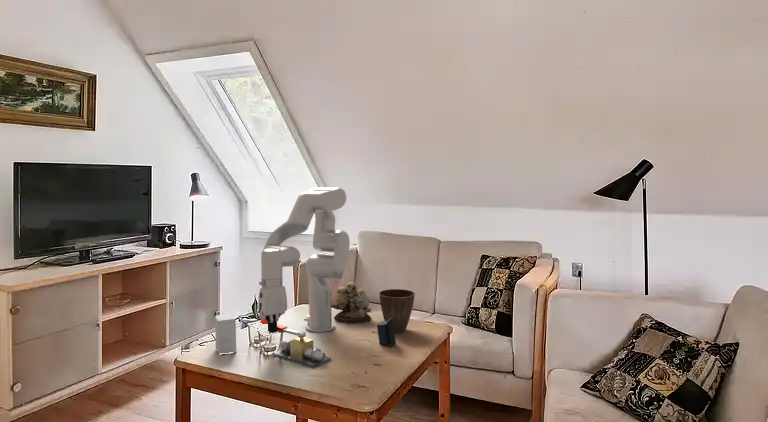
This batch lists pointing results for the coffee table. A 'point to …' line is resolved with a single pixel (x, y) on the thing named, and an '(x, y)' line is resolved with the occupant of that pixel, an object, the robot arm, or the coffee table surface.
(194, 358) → the coffee table surface
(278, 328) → the valve lever
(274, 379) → the coffee table surface
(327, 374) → the coffee table surface
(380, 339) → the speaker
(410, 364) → the coffee table surface
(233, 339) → the small box
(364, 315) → the owl figurine
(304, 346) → the valve body
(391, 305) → the plant pot
